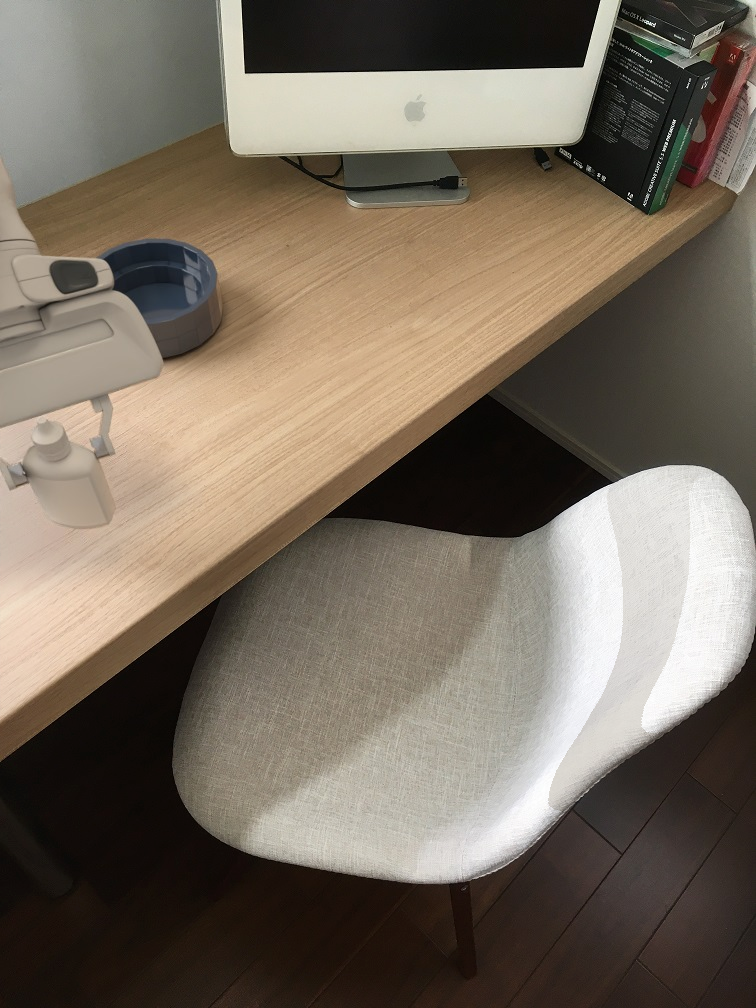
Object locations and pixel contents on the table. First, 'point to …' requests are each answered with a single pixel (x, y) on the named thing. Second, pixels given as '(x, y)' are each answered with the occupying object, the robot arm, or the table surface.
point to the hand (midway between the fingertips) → (64, 471)
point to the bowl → (169, 290)
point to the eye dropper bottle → (67, 479)
